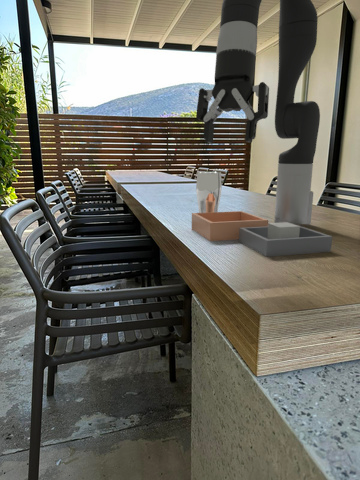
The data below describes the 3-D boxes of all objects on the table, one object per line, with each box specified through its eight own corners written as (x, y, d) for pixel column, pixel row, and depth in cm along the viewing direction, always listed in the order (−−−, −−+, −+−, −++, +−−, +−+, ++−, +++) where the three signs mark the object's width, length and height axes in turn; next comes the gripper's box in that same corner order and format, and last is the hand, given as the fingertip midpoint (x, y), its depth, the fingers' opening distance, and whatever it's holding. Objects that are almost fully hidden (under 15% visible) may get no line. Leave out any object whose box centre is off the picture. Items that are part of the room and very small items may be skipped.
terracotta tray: (241, 229, 90) (241, 211, 89) (266, 241, 77) (268, 220, 76) (191, 232, 87) (191, 213, 86) (209, 245, 74) (210, 222, 72)
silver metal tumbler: (219, 228, 91) (220, 172, 87) (194, 227, 92) (194, 172, 89) (221, 224, 98) (222, 171, 94) (197, 223, 99) (198, 171, 95)
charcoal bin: (294, 241, 77) (296, 224, 76) (330, 256, 65) (332, 236, 64) (238, 245, 73) (239, 227, 72) (265, 261, 62) (267, 240, 61)
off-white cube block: (285, 242, 72) (287, 222, 71) (298, 248, 67) (300, 226, 66) (266, 244, 71) (268, 223, 70) (278, 249, 66) (279, 227, 65)
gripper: (278, 57, 63) (268, 144, 66) (211, 66, 71) (205, 145, 73) (266, 41, 57) (256, 138, 60) (194, 53, 64) (187, 139, 67)
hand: (228, 142), depth 66 cm, fingers open, 8 cm apart
